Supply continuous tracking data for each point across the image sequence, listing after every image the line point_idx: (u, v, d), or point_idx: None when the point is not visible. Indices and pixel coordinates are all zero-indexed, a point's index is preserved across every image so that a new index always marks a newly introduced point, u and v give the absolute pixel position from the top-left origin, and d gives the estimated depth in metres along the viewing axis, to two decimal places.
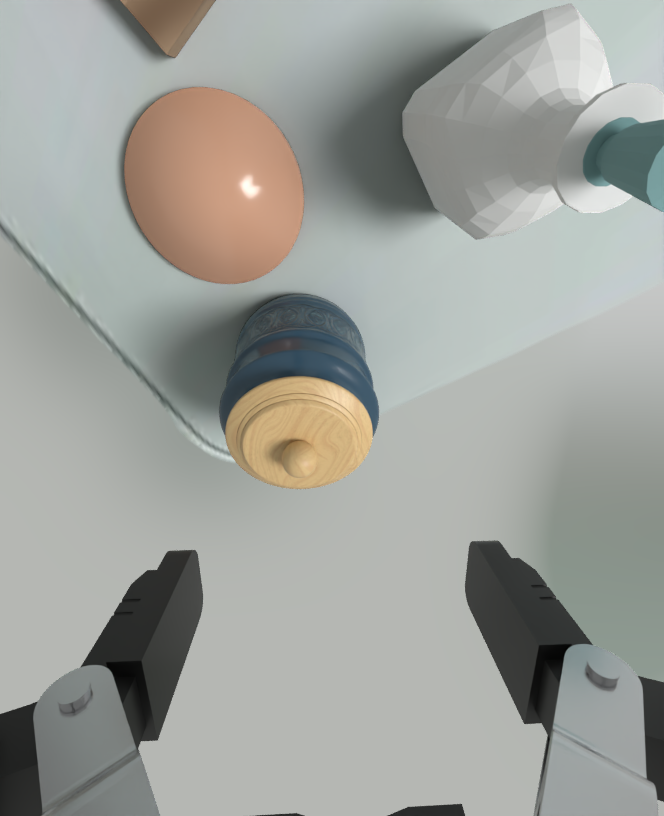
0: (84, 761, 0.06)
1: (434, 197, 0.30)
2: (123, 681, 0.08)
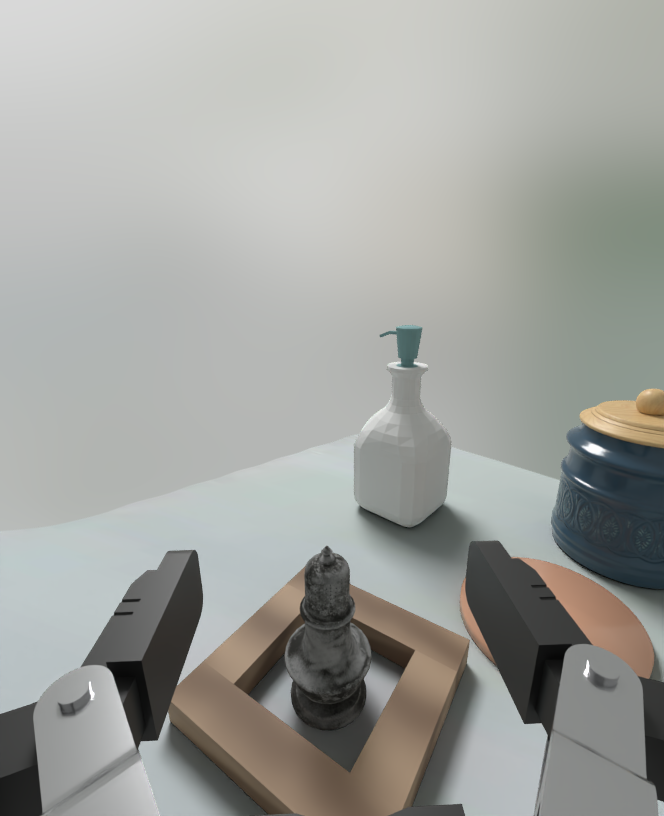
0: (84, 760, 0.06)
1: (442, 486, 0.48)
2: (123, 681, 0.08)
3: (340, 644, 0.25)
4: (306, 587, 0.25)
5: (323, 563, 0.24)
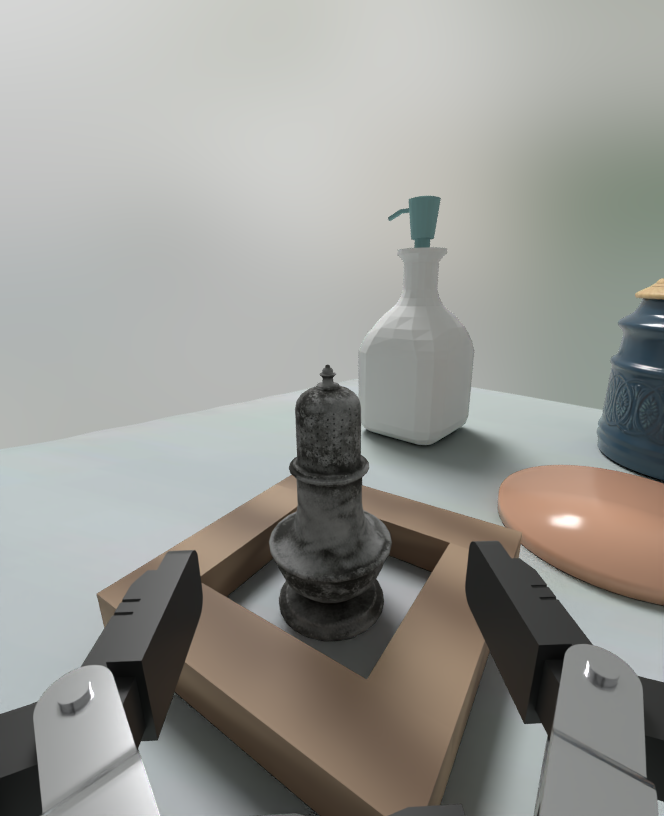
0: (84, 761, 0.06)
1: (464, 400, 0.40)
2: (123, 681, 0.08)
3: (348, 514, 0.18)
4: (298, 426, 0.17)
5: (323, 388, 0.17)
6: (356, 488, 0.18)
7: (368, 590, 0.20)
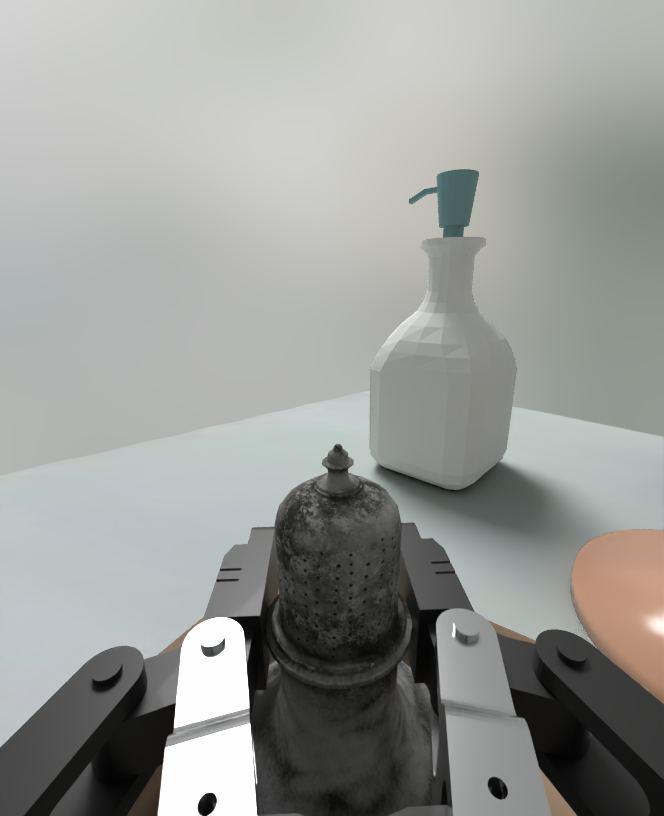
0: (209, 701, 0.07)
1: (503, 431, 0.32)
2: (243, 634, 0.09)
3: (375, 721, 0.09)
4: (280, 564, 0.09)
5: (329, 493, 0.08)
6: (390, 672, 0.09)
7: None
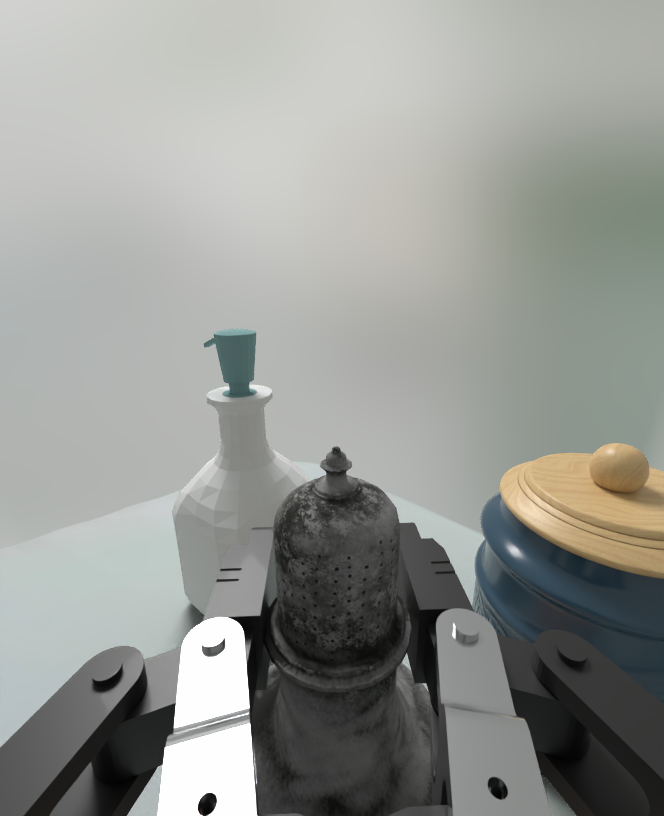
0: (209, 701, 0.07)
1: None
2: (243, 634, 0.09)
3: (375, 725, 0.09)
4: (278, 567, 0.09)
5: (327, 496, 0.08)
6: (389, 675, 0.09)
7: None
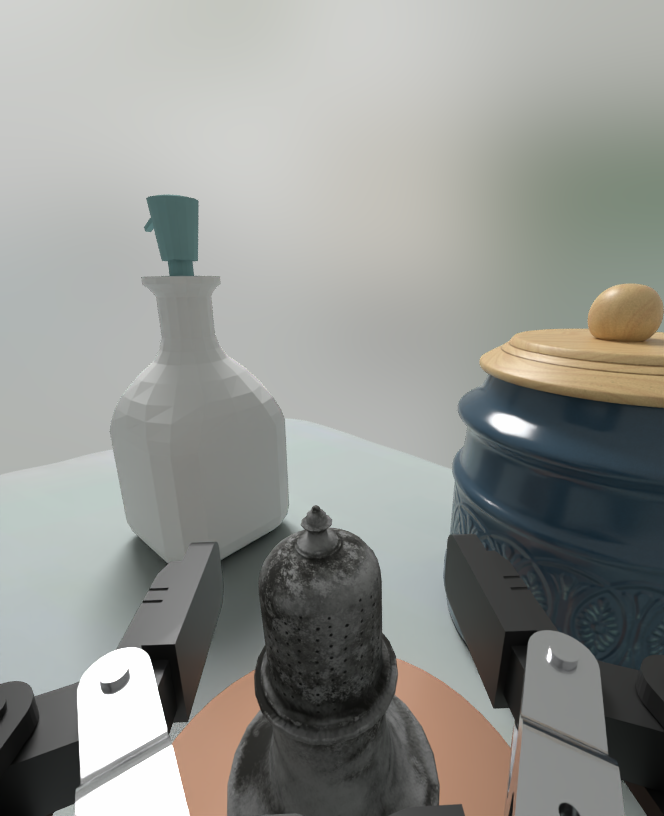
0: (120, 739, 0.06)
1: (265, 497, 0.27)
2: (157, 664, 0.08)
3: (364, 768, 0.10)
4: (264, 623, 0.09)
5: (308, 554, 0.09)
6: (376, 721, 0.10)
7: None
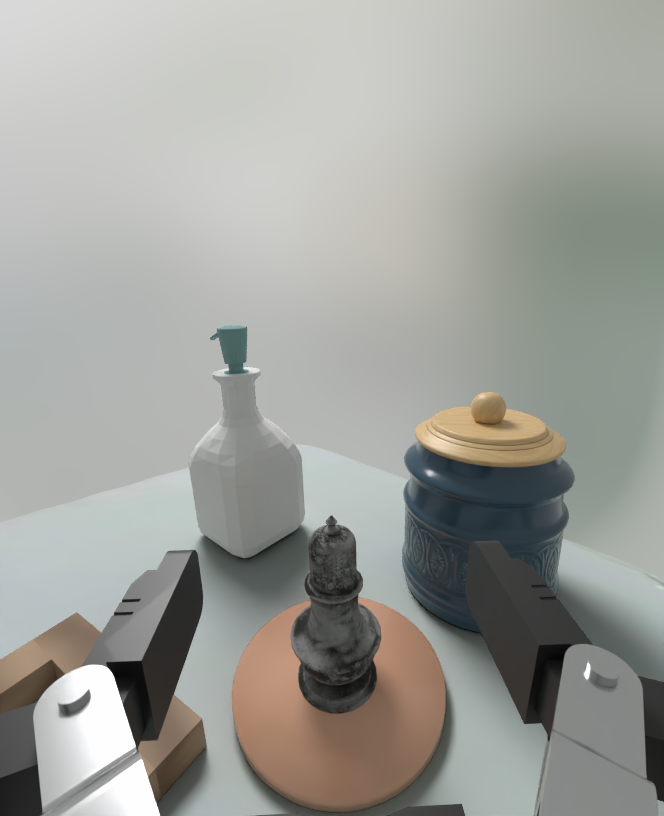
0: (85, 760, 0.06)
1: (289, 509, 0.42)
2: (123, 681, 0.08)
3: (348, 620, 0.24)
4: (311, 559, 0.24)
5: (328, 533, 0.23)
6: (353, 601, 0.24)
7: None
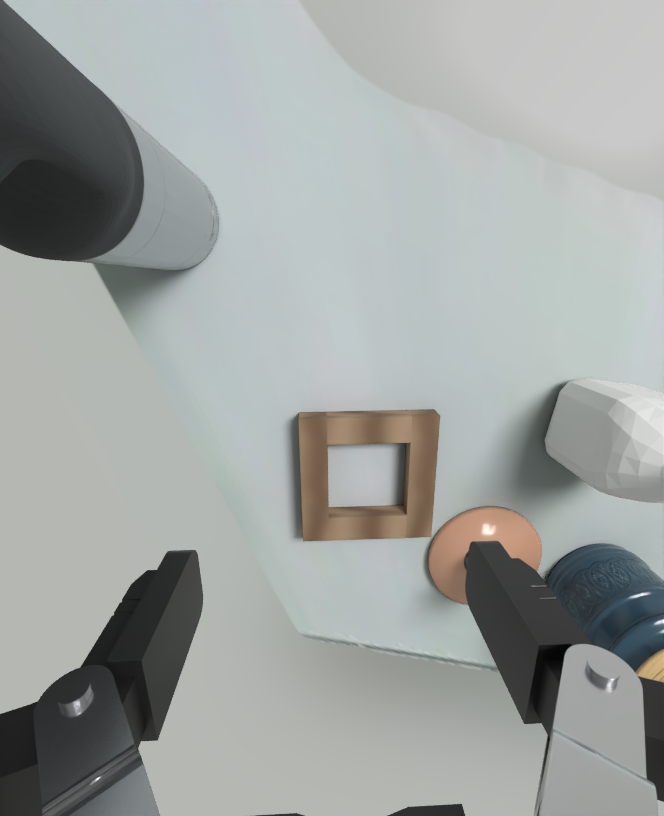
0: (84, 760, 0.06)
1: None
2: (123, 681, 0.08)
3: None
4: None
5: None
6: None
7: None
